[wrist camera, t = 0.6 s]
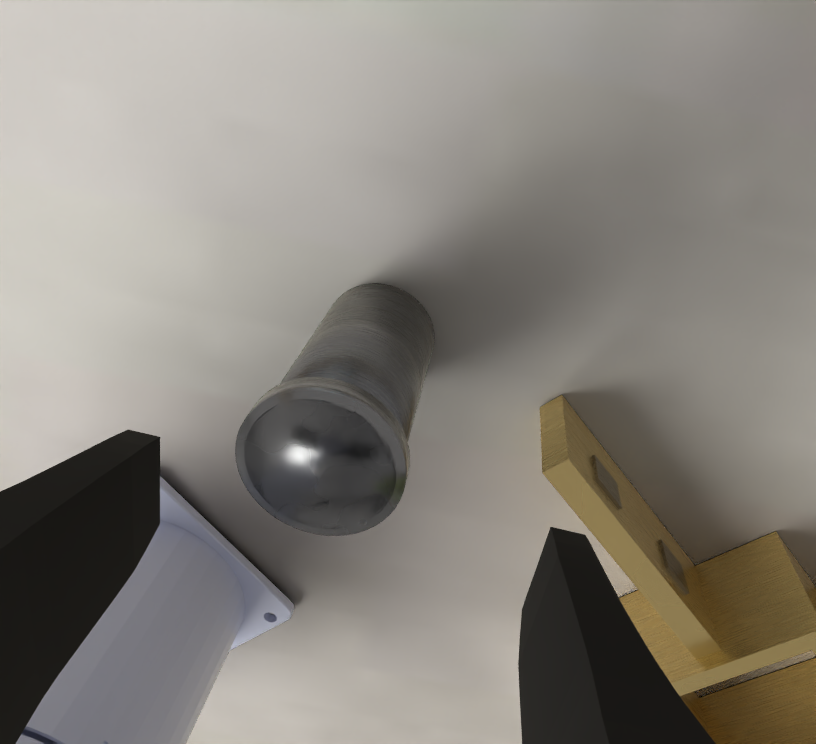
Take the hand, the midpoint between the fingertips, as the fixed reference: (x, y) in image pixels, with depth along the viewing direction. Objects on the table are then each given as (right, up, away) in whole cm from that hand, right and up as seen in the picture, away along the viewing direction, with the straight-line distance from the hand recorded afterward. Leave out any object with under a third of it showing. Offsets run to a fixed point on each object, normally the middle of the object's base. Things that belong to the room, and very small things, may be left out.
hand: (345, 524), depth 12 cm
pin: (0, +4, +9) cm, 9 cm away
